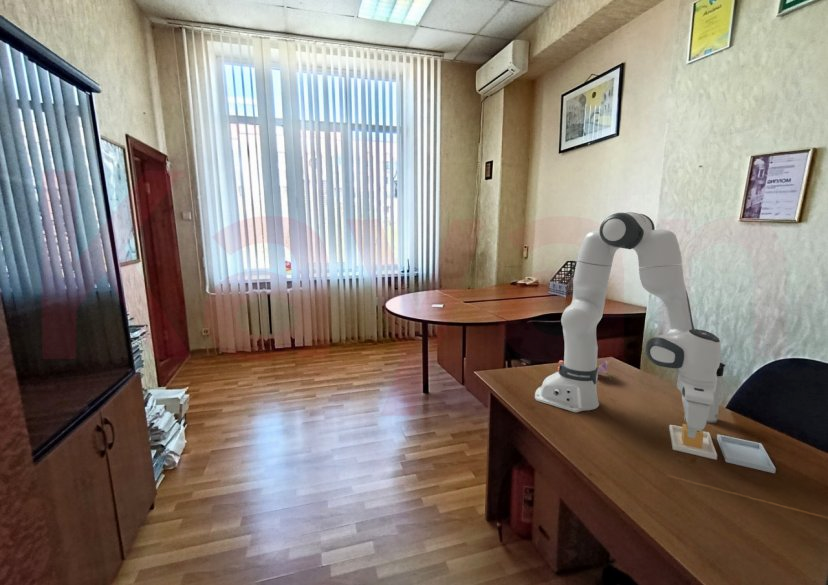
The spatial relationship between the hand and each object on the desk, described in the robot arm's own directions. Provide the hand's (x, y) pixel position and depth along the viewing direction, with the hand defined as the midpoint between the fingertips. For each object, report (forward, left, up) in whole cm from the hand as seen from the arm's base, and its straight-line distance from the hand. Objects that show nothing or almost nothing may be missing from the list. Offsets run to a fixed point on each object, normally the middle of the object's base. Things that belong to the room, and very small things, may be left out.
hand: (689, 428), depth 109 cm
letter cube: (+1, 0, -5) cm, 5 cm away
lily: (-26, +42, -5) cm, 50 cm away
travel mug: (+7, +20, -5) cm, 22 cm away
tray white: (+1, 0, -5) cm, 5 cm away
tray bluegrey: (+13, 0, -5) cm, 14 cm away
